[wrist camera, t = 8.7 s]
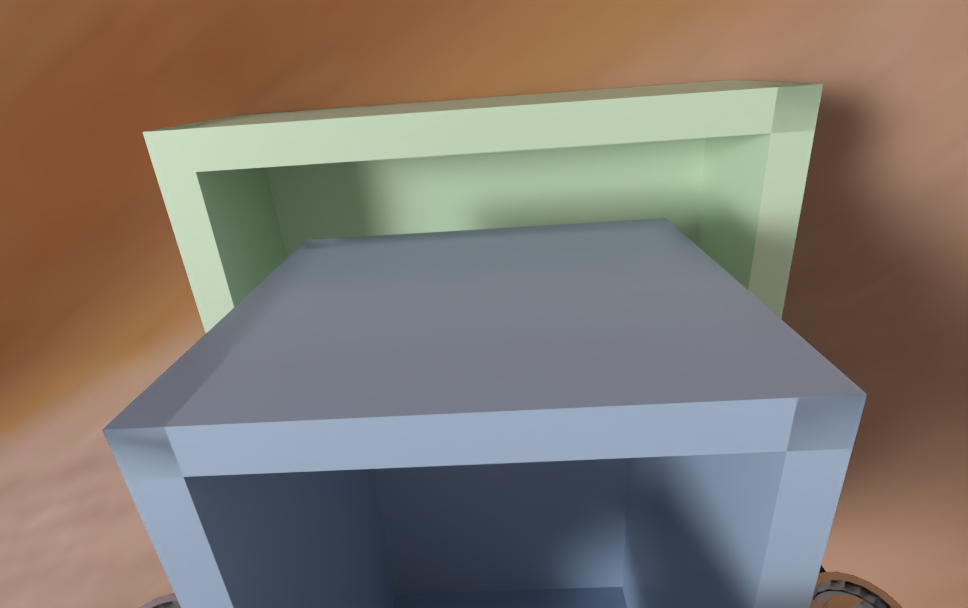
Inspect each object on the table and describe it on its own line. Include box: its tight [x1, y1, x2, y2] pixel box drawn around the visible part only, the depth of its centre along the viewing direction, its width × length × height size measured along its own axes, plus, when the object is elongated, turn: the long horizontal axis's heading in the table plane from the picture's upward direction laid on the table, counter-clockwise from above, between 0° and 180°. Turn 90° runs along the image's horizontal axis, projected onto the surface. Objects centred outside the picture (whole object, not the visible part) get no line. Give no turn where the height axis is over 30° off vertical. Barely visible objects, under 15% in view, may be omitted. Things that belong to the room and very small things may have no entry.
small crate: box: [103, 218, 867, 608], centre depth 10 cm, size 10×7×6 cm
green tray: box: [143, 80, 823, 333], centre depth 15 cm, size 15×13×4 cm
